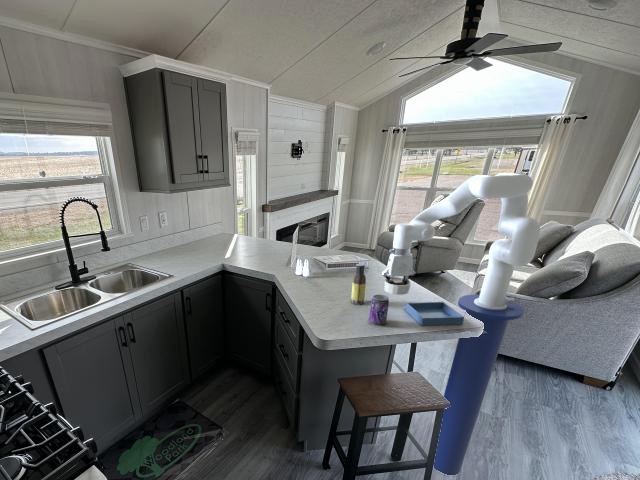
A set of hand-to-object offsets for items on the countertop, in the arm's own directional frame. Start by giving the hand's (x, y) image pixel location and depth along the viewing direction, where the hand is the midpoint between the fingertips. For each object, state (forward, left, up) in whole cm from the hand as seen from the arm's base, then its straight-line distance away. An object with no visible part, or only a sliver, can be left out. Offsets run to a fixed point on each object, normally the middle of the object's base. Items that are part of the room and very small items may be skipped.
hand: (396, 288), depth 155 cm
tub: (-12, +12, -10) cm, 20 cm away
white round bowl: (0, 0, -1) cm, 1 cm away
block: (0, 0, 0) cm, 1 cm away
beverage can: (+14, +16, -10) cm, 23 cm away
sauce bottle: (+16, -6, -10) cm, 20 cm away
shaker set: (+36, -48, -10) cm, 61 cm away
